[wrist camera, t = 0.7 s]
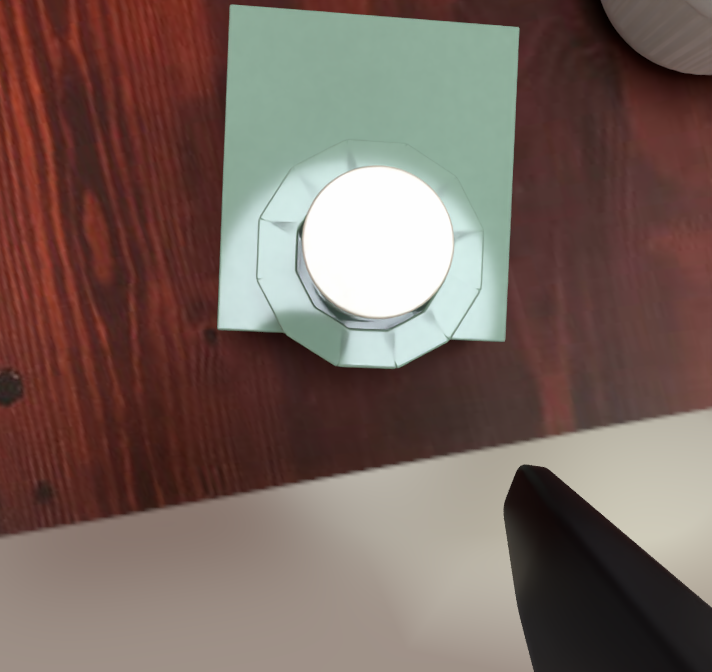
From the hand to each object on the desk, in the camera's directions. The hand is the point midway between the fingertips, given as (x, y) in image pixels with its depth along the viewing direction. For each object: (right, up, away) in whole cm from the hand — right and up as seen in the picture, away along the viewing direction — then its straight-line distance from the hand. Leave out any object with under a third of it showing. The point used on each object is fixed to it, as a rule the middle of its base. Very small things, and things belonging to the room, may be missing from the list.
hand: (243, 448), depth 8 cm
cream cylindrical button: (+2, +4, +7) cm, 9 cm away
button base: (+2, +7, +13) cm, 15 cm away
